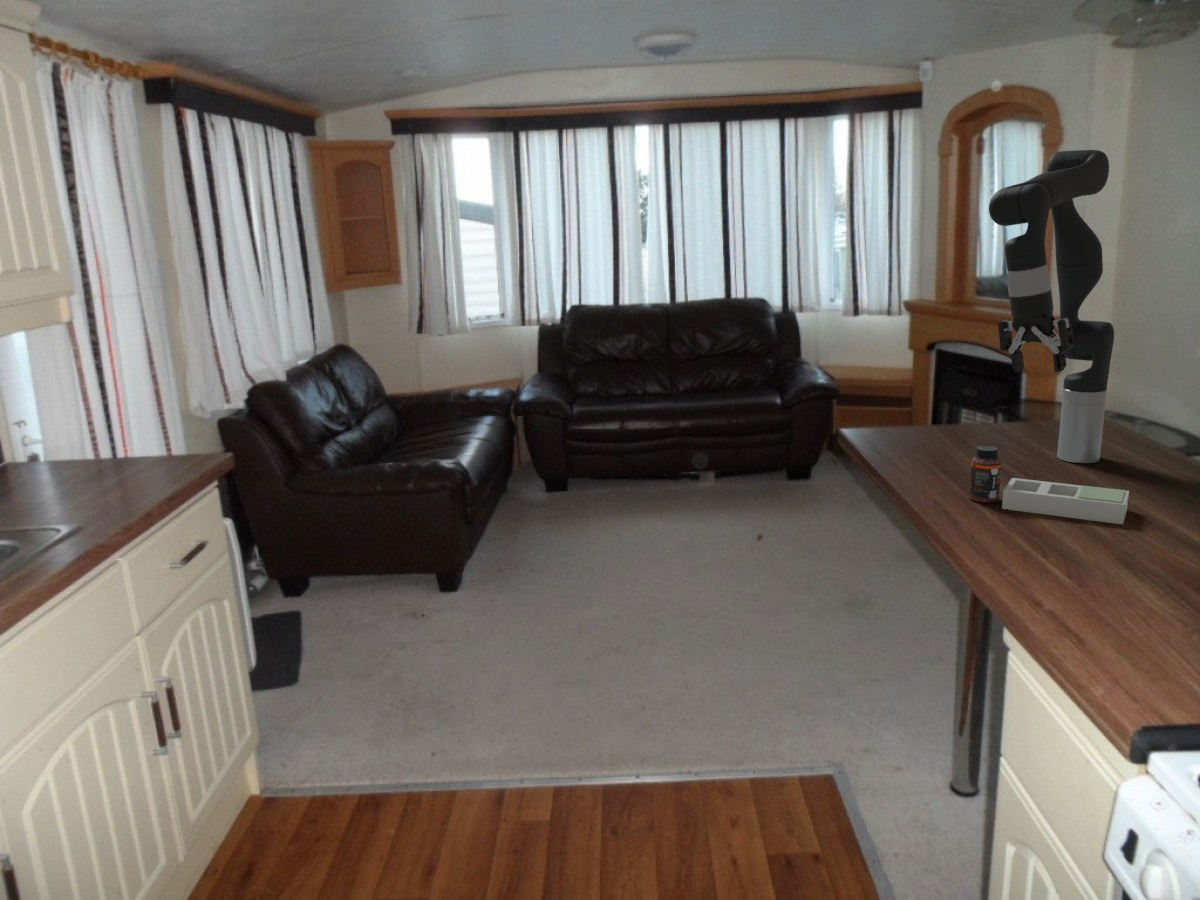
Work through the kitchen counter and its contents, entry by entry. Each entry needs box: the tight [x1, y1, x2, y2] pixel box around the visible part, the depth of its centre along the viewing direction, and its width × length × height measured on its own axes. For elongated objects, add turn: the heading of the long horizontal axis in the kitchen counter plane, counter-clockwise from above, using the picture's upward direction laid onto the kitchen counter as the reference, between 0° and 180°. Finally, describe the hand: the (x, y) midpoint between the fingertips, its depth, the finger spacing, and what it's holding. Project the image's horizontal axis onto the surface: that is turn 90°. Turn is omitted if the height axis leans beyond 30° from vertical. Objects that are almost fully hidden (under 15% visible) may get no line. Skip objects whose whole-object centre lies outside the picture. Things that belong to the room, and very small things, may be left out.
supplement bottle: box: [968, 445, 1003, 503], centre depth 199 cm, size 6×6×11 cm
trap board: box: [1001, 477, 1130, 525], centre depth 192 cm, size 10×22×4 cm, turn 58°
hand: (1039, 370), depth 186 cm, fingers open, 8 cm apart
